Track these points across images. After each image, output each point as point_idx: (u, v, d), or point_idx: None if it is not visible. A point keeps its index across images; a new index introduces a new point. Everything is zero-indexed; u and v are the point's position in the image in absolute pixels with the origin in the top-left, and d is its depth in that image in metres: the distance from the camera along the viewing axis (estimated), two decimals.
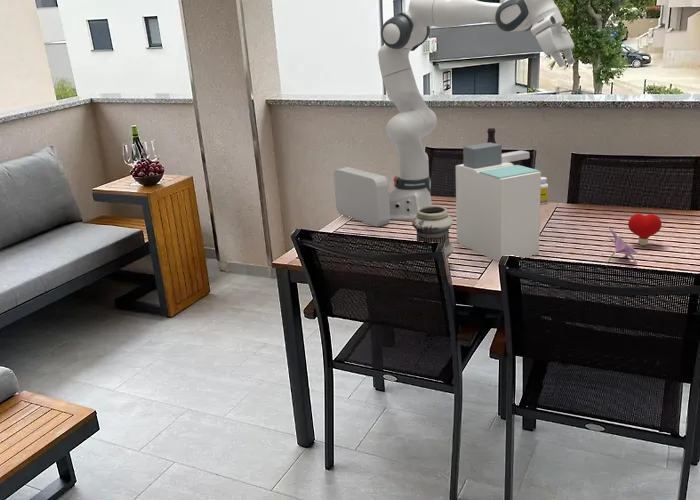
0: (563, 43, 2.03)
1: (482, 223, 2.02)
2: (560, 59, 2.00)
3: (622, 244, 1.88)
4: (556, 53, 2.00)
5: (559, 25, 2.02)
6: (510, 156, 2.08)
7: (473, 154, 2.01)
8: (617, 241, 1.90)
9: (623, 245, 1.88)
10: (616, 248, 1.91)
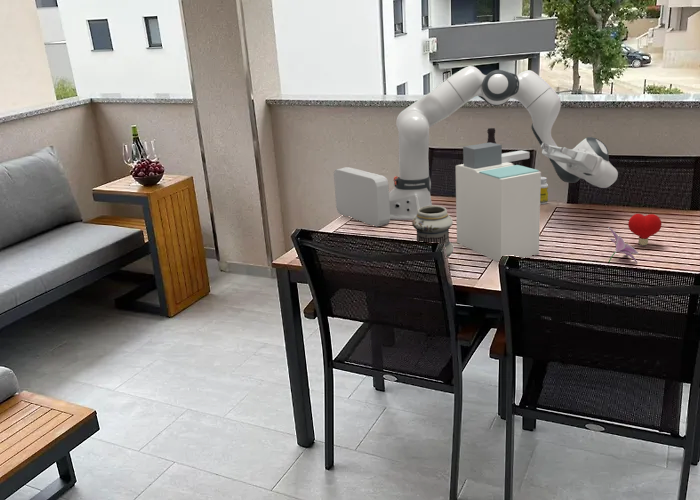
0: (564, 159, 2.18)
1: (482, 223, 2.02)
2: (568, 153, 2.12)
3: (622, 244, 1.89)
4: (574, 156, 2.12)
5: (574, 169, 2.21)
6: (510, 156, 2.08)
7: (473, 154, 2.01)
8: (617, 241, 1.90)
9: (623, 245, 1.89)
10: (616, 248, 1.91)
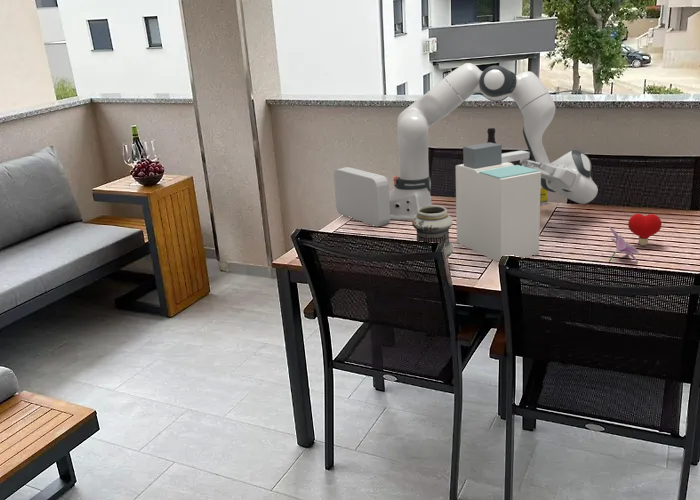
0: (542, 175, 2.17)
1: (482, 223, 2.02)
2: (546, 169, 2.11)
3: (623, 244, 1.89)
4: (552, 172, 2.11)
5: (552, 184, 2.20)
6: (510, 156, 2.08)
7: (473, 154, 2.01)
8: (618, 240, 1.90)
9: (624, 245, 1.89)
10: (617, 247, 1.91)
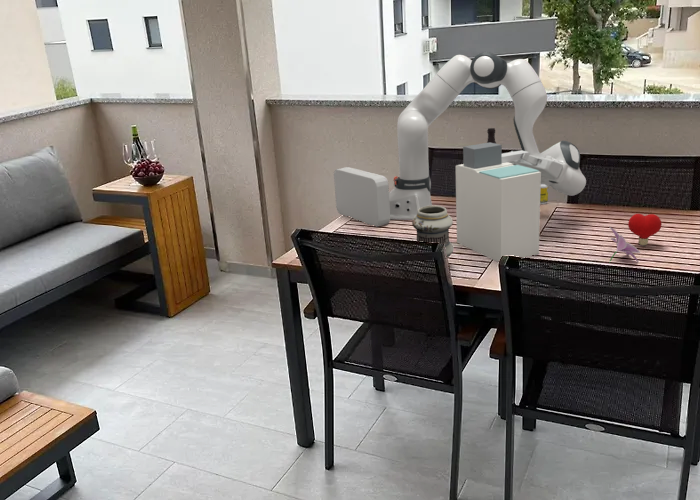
0: (529, 167, 2.14)
1: (482, 223, 2.02)
2: (528, 159, 2.09)
3: (624, 243, 1.89)
4: (534, 162, 2.09)
5: None
6: (510, 156, 2.08)
7: (473, 154, 2.01)
8: (619, 240, 1.91)
9: (625, 244, 1.89)
10: (618, 247, 1.91)
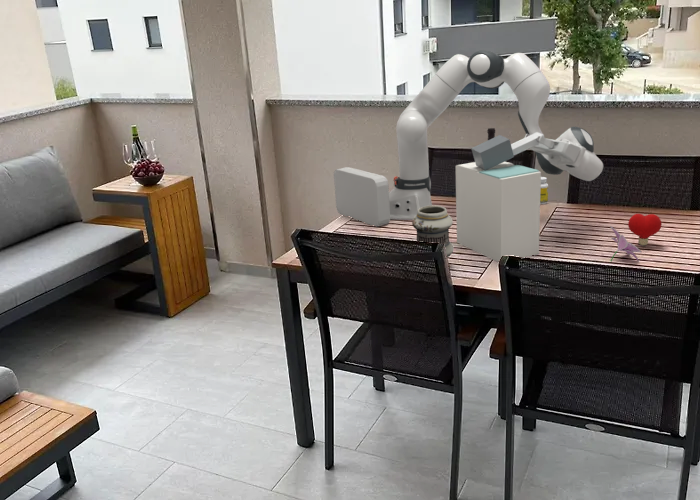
0: (545, 150, 2.06)
1: (482, 223, 2.02)
2: (544, 143, 2.01)
3: (624, 243, 1.89)
4: (551, 145, 2.01)
5: (556, 160, 2.08)
6: (523, 145, 2.01)
7: (480, 157, 1.98)
8: (619, 240, 1.91)
9: (625, 244, 1.89)
10: (618, 247, 1.92)
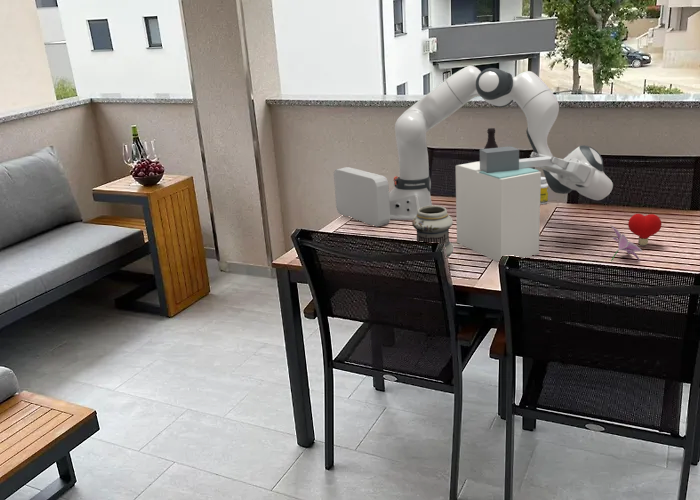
0: (554, 170, 2.03)
1: (482, 223, 2.02)
2: (558, 163, 1.97)
3: (625, 242, 1.90)
4: (564, 166, 1.97)
5: (565, 180, 2.06)
6: (530, 162, 1.98)
7: (486, 158, 1.95)
8: (620, 239, 1.91)
9: (626, 243, 1.90)
10: (619, 246, 1.92)
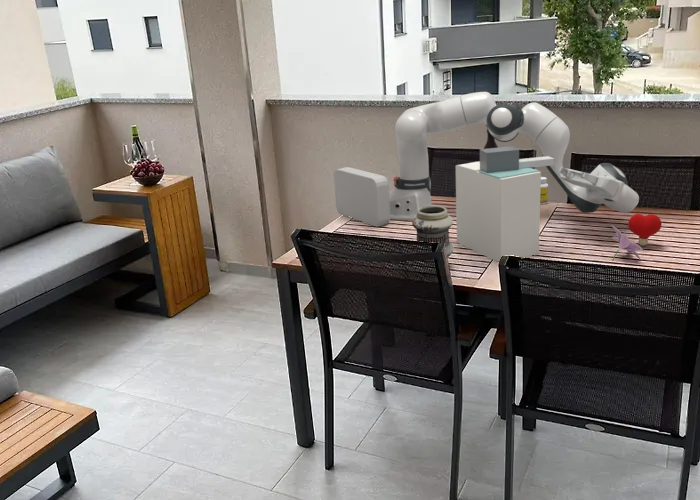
0: (584, 184, 2.09)
1: (482, 223, 2.02)
2: (588, 178, 2.03)
3: (626, 242, 1.90)
4: (595, 181, 2.03)
5: (594, 194, 2.12)
6: (530, 162, 1.98)
7: (486, 158, 1.95)
8: (621, 238, 1.92)
9: (627, 243, 1.90)
10: (620, 245, 1.92)
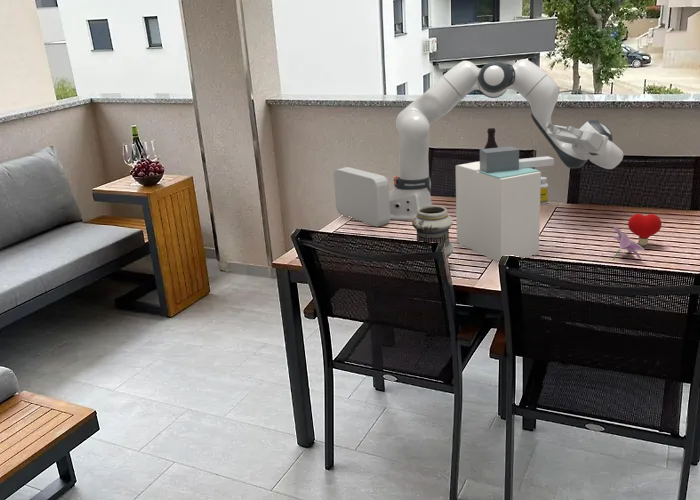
0: (569, 139, 2.17)
1: (482, 223, 2.02)
2: (573, 132, 2.10)
3: (627, 241, 1.91)
4: (580, 135, 2.10)
5: (579, 149, 2.19)
6: (530, 162, 1.98)
7: (486, 158, 1.95)
8: (622, 238, 1.92)
9: (628, 242, 1.91)
10: (621, 245, 1.93)
